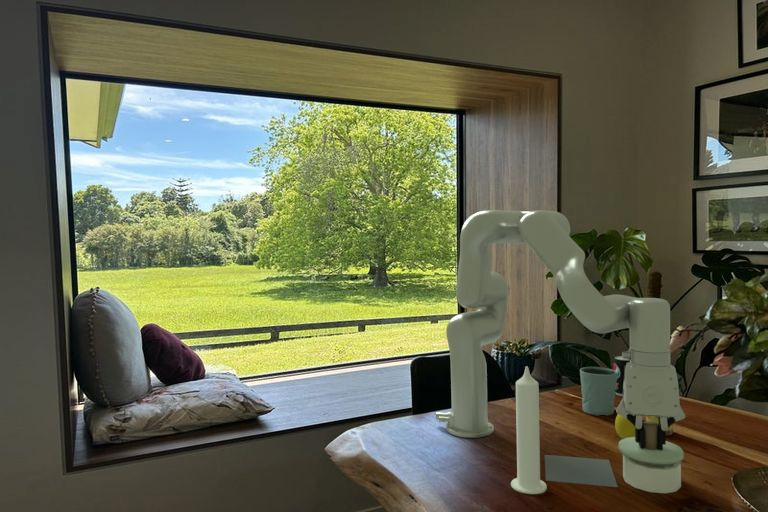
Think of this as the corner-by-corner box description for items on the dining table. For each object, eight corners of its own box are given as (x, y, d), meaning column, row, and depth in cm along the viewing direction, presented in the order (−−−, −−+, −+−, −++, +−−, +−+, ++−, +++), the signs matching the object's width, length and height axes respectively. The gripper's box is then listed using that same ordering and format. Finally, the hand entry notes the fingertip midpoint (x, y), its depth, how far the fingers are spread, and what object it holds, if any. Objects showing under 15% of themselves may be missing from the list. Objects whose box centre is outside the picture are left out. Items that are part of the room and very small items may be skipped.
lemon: (642, 446, 131) (641, 413, 131) (617, 445, 132) (617, 412, 132) (636, 438, 137) (635, 406, 136) (612, 436, 138) (612, 405, 137)
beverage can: (613, 391, 179) (613, 355, 178) (635, 393, 176) (635, 356, 176) (614, 396, 172) (613, 359, 172) (637, 398, 170) (636, 360, 170)
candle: (540, 479, 114) (538, 362, 114) (551, 495, 107) (549, 370, 107) (507, 480, 114) (505, 363, 113) (516, 496, 107) (514, 371, 106)
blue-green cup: (573, 408, 162) (572, 368, 162) (601, 404, 165) (600, 365, 165) (596, 418, 152) (595, 376, 152) (625, 414, 155) (625, 372, 155)
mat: (545, 482, 113) (545, 480, 113) (544, 456, 126) (544, 454, 126) (618, 489, 109) (618, 487, 109) (608, 461, 123) (608, 459, 123)
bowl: (628, 491, 108) (627, 466, 108) (620, 470, 118) (620, 447, 118) (686, 497, 105) (686, 471, 105) (672, 474, 115) (672, 451, 115)
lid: (623, 461, 107) (623, 431, 107) (614, 439, 119) (614, 412, 119) (691, 466, 104) (690, 435, 104) (674, 443, 116) (674, 416, 116)
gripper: (609, 360, 109) (610, 450, 110) (699, 364, 105) (699, 457, 106) (605, 353, 117) (605, 437, 117) (688, 356, 112) (689, 443, 113)
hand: (650, 446), depth 111 cm, fingers closed on lid, 2 cm apart
